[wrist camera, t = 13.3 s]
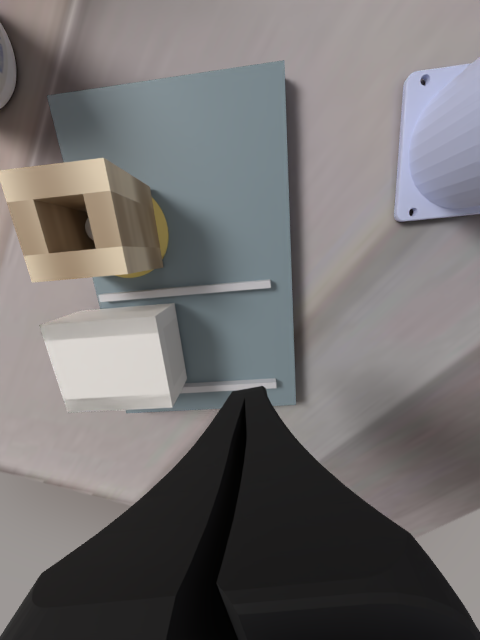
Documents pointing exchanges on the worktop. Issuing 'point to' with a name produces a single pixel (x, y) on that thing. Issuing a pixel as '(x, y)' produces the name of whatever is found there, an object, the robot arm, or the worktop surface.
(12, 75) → the pill bottle
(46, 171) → the collar
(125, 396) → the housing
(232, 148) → the board
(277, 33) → the worktop surface
